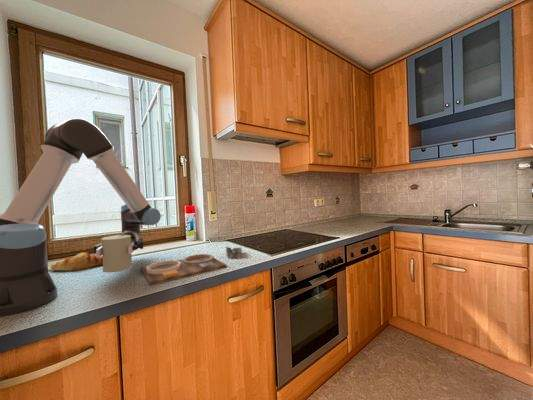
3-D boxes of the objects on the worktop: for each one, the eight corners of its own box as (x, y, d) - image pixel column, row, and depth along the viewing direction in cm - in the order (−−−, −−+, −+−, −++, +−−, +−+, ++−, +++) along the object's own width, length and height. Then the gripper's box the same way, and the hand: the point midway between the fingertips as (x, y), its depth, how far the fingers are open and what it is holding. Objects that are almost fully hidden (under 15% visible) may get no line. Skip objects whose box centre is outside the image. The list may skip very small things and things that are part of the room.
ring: (152, 280, 81) (152, 276, 81) (144, 268, 96) (144, 264, 96) (188, 272, 89) (188, 268, 89) (175, 261, 103) (175, 258, 103)
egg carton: (226, 253, 119) (225, 245, 119) (240, 252, 120) (240, 244, 120) (226, 259, 108) (226, 250, 108) (242, 258, 110) (242, 249, 110)
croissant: (48, 281, 97) (42, 267, 93) (56, 264, 105) (51, 250, 101) (108, 271, 105) (105, 258, 102) (111, 256, 113) (108, 243, 109)
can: (137, 264, 90) (136, 233, 89) (123, 272, 81) (121, 237, 80) (113, 264, 90) (111, 233, 89) (96, 273, 80) (94, 238, 80)
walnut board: (150, 285, 80) (149, 278, 80) (140, 269, 97) (140, 263, 97) (226, 266, 97) (226, 260, 97) (207, 256, 114) (206, 251, 114)
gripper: (154, 246, 106) (148, 258, 85) (98, 251, 98) (76, 266, 77) (154, 229, 105) (148, 238, 84) (97, 233, 98) (75, 244, 77)
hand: (113, 251), depth 81 cm, fingers closed on can, 9 cm apart
